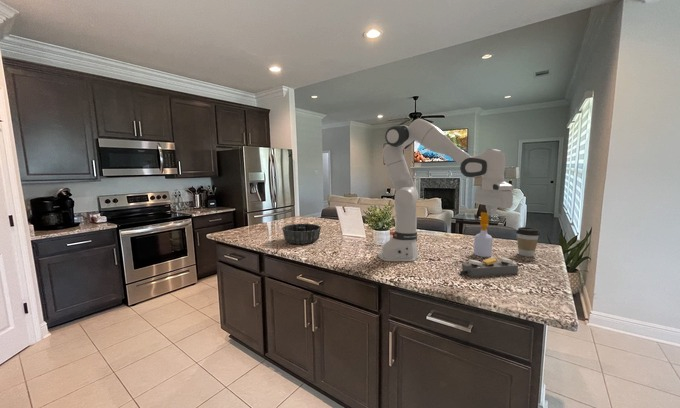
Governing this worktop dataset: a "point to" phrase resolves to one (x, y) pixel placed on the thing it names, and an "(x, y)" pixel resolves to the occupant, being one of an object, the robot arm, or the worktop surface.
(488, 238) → the soap bottle
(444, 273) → the worktop surface
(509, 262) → the plate
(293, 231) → the bundt pan
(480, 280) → the worktop surface
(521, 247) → the coffee cup
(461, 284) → the worktop surface
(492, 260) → the block
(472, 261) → the block
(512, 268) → the power strip
